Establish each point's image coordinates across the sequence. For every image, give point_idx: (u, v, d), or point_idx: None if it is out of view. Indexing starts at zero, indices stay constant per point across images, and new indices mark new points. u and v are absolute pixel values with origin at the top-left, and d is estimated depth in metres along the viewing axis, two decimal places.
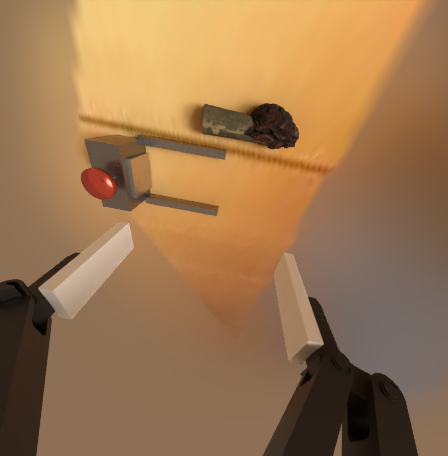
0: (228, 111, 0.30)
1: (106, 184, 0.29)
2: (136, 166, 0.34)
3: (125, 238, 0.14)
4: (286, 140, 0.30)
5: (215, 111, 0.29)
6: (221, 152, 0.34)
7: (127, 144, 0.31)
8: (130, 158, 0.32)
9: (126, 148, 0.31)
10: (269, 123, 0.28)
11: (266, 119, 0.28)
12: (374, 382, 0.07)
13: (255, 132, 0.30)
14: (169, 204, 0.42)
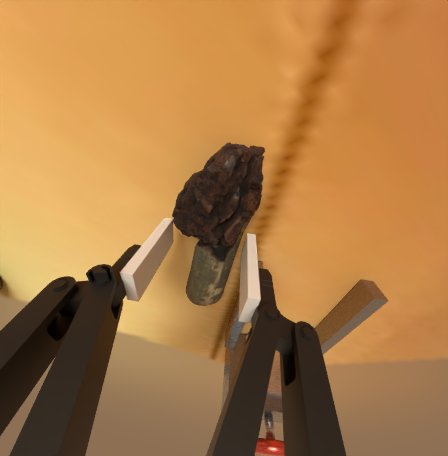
0: (191, 271, 0.18)
1: (272, 453, 0.20)
2: None
3: (170, 233, 0.15)
4: (244, 183, 0.12)
5: (191, 288, 0.19)
6: None
7: (230, 377, 0.25)
8: None
9: None
10: (203, 229, 0.13)
11: (196, 234, 0.13)
12: (296, 330, 0.09)
13: (222, 242, 0.15)
14: (326, 346, 0.25)
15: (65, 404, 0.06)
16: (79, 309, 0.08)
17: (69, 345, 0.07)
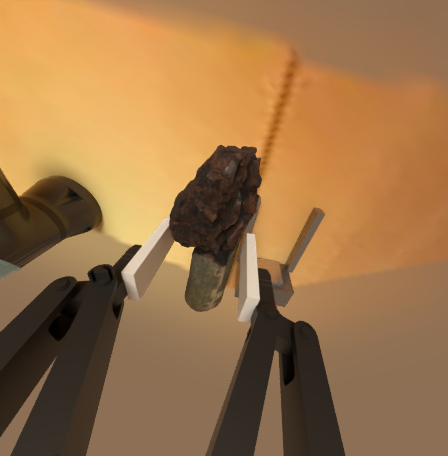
0: (191, 280, 0.18)
1: None
2: None
3: (170, 233, 0.15)
4: (244, 187, 0.11)
5: (192, 297, 0.19)
6: None
7: None
8: None
9: None
10: (206, 239, 0.12)
11: (198, 245, 0.13)
12: (295, 330, 0.09)
13: (222, 247, 0.15)
14: (298, 255, 0.41)
15: (66, 404, 0.06)
16: (80, 309, 0.08)
17: (70, 345, 0.07)
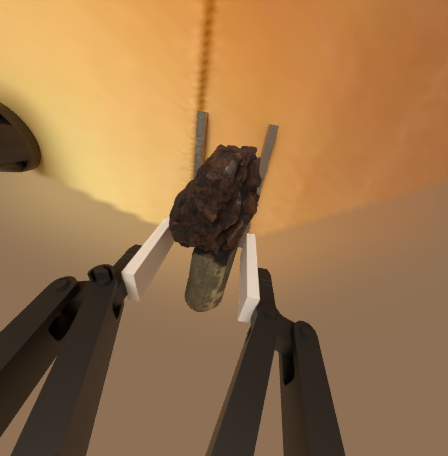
0: (191, 280, 0.18)
1: None
2: None
3: (170, 233, 0.15)
4: (244, 187, 0.11)
5: (192, 297, 0.19)
6: (198, 116, 0.31)
7: None
8: None
9: None
10: (206, 239, 0.12)
11: (198, 245, 0.13)
12: (295, 330, 0.09)
13: (222, 248, 0.15)
14: (257, 188, 0.37)
15: (66, 404, 0.06)
16: (80, 309, 0.08)
17: (70, 345, 0.07)
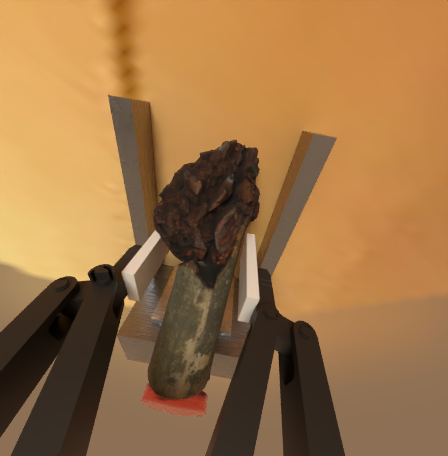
0: (164, 318, 0.12)
1: (167, 401, 0.13)
2: None
3: None
4: (238, 172, 0.11)
5: (157, 354, 0.12)
6: (115, 111, 0.11)
7: (134, 308, 0.18)
8: None
9: (137, 314, 0.17)
10: (187, 223, 0.10)
11: (177, 231, 0.10)
12: (295, 330, 0.09)
13: (211, 257, 0.11)
14: (268, 264, 0.18)
15: (66, 404, 0.06)
16: (81, 309, 0.08)
17: (70, 345, 0.07)
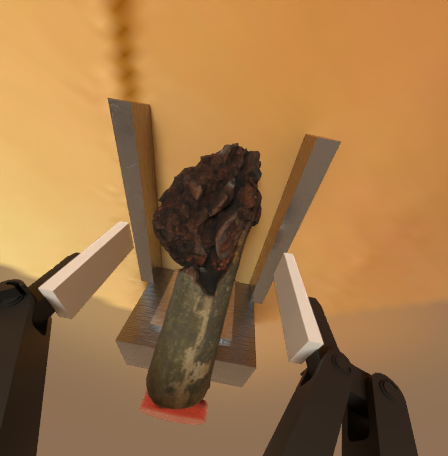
0: (163, 325, 0.12)
1: (166, 410, 0.13)
2: None
3: (125, 238, 0.14)
4: (240, 176, 0.10)
5: (156, 362, 0.11)
6: (114, 114, 0.11)
7: (133, 312, 0.17)
8: None
9: (136, 319, 0.17)
10: (187, 228, 0.10)
11: (177, 237, 0.10)
12: (374, 382, 0.07)
13: (212, 263, 0.11)
14: (270, 269, 0.17)
15: None
16: None
17: None
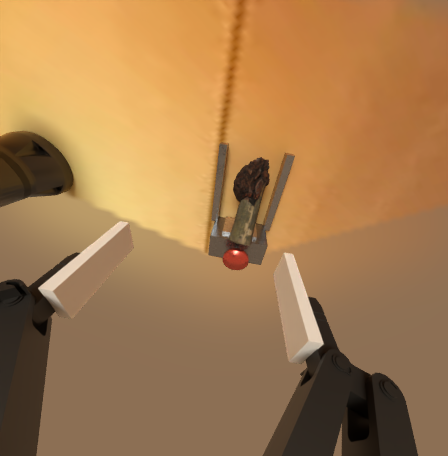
0: (235, 219, 0.35)
1: (234, 254, 0.36)
2: (230, 228, 0.40)
3: (125, 238, 0.14)
4: (262, 167, 0.33)
5: (234, 230, 0.34)
6: (220, 148, 0.34)
7: (213, 229, 0.40)
8: (222, 230, 0.40)
9: (215, 231, 0.40)
10: (247, 183, 0.32)
11: (243, 186, 0.32)
12: (374, 382, 0.07)
13: (253, 196, 0.33)
14: (273, 209, 0.40)
15: None
16: None
17: None
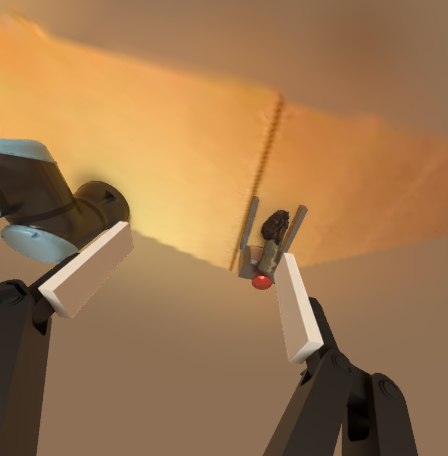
0: (263, 254, 0.47)
1: (262, 279, 0.48)
2: (256, 256, 0.53)
3: (125, 238, 0.14)
4: (284, 218, 0.45)
5: (263, 262, 0.46)
6: (253, 202, 0.46)
7: (243, 257, 0.52)
8: (250, 259, 0.52)
9: (245, 259, 0.52)
10: (273, 230, 0.45)
11: (271, 232, 0.45)
12: (374, 382, 0.07)
13: (277, 238, 0.46)
14: (288, 243, 0.52)
15: None
16: None
17: None
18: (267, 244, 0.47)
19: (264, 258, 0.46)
